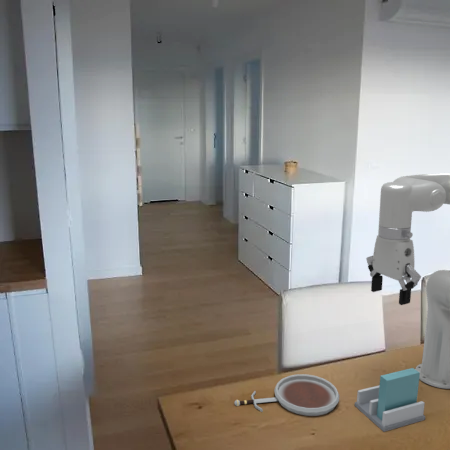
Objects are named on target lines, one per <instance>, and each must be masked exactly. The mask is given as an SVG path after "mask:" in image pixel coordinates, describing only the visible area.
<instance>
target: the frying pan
mask: <svg viewBox="0 0 450 450" xmlns="http://www.w3.org/2000/svg"><path fill="white" fill-rule="evenodd" d="M338 391H339V390H338V389H337V387H336V386H335V385H334V384H333V383H332V382H331V381H329V380H327V379H325V378H323V377H321V376H317V375H313V374H308V373H307V374H306V373H304V374H303V373H302V374H301V373H300V374H297V373H296V374H292V375H288V376H286V377H283V378H281V379H280V380H278V382H277V383H276V385H275V387H274V391H273V392H274V396H275V397H265V398H256V399H255V397H254V396H255V395H256V390H254V391H253V393H252V394H251V395H250V398H251V399H247V400H246V399H245V400H239V399H236V400H235V401H234V406H236V407H239V406H240V405H247V404H248V405H249V404H253V406H254V408H255V409H256V410H258V411H260V412H262V413H263V411H264V410H263V408H262V407H260V406H259V405H257V404H262V403H271V402H278V403H279V404H280V406H282V407H283V408H284V409H286V410H287V411H288V412H291V413H294V414H296V415H301V416H307V417H308V416H309V417H316V416H317V417H318V416H323V415H326V414H328V413H330V412H332V411H333V410H334V409H335V407H336V406H337V405H338V403H339V402H340V393H339V392H338Z"/></svg>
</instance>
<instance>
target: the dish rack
mask: <svg viewBox="0 0 450 450" xmlns="http://www.w3.org/2000/svg"><path fill="white" fill-rule="evenodd" d="M379 386H380V384H379V385H375V386H372V387H371V386H370V387H367V388H363V389H362V388H361V389H359V390H357V394H356V395H357V396H356V401H355V402H354V407H355V408H356V409H358V410H359V411H360V412H361V413H362V414H363V415H365V416H366V418H367V419H369V420H370V421H371V422H372V423H374V425H376V426H377V428H379V429H380V430H381V431H382V432H383V433H384V432H388V431H391V430H395V429H398V428H401V427H405V426H408V425H411V424H416V423H418V422H422V421H425V420H426V415H424V411H425V403H426V402H424V401H422V400H421V401H417V403H414V404H410V405H406V406H403V407H399V408H395V409H392V410H388V411H384V412H383V417H382V420H381V419H379V418H378V417H377V408H378V397H379Z"/></svg>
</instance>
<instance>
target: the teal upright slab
mask: <svg viewBox="0 0 450 450" xmlns="http://www.w3.org/2000/svg"><path fill="white" fill-rule="evenodd" d="M415 369H416V368H414V367H411V368H405V369H403V370H399V371H394V372H390V373H387V374H382V375H379V385H380V386H379V397H378V408H377V417H378V418H379V419H381V420H382V417H383V412H384V411H388V410H392V409H395V408H399V407H403V406H406V405H410V404H414V403H417V402H418V392H419V384H420V379H419V377H420V372H418V371H417V370H415Z"/></svg>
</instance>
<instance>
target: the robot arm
mask: <svg viewBox="0 0 450 450" xmlns="http://www.w3.org/2000/svg"><path fill="white" fill-rule="evenodd" d="M379 198H380V199H379V217H378V230H377V231H378V232H377V235H376V239H375V243H374V249H373V253H372V254H373V255H370V256H367V257H366V258H365V259H366V263H367V269H368V271H369V275H370V277H371V286H370V287H371V289H370V291H371V292H372V293H375V292H380V291H382V290H383V280H384V278H383V276H385V277H388V278H390V279H393V280H395V281H398V283H399V285H400V288H401V289H399V295H398V296H399V297H398V304H399V305H400V306H404V305H407V304H410V303H411V299H412V298H411V297H412V296H411V295H412V289H414V288H415V287H416V286H418V283H419V281H420V280H421V278H422V276H421V275H420V273H419V272H418V271H417V270H416V269H415V246H414V242H413V241H414V240H413V239H412V237H413V232H412V231H411V230H412V217H413V213H414V212H424V213H425V212H426V213H427V212H428V213H429V212H433V211H436V210H438V209H439V208H441V207H442V206H444V205H450V172H448V173H445V172H444V173H428V174H427V173H426V174H412V175H405V176H400V177H397V178H395V179H394V180H393V181H389V182H386V183H383V184H382V186H381V188H380V196H379ZM405 282H406V283H405ZM425 288H426V289H425V290H426V291H425V293H426V299H427V300H426V301H427V311H426V312H427V314H426V316H427V317H426V322H425V323H426V324H425V331H424V332H425V334H424V341H423V350H422V360H421V363H419V364H418V365H416V366H415V368H414V369H415V370H417V371H418V372H420V377H419V381H421V382H423V383H425V384H427V385H429V386H432V387H435V388H438V389H447V390H449V389H450V270H448V269H440V270H439V269H438V270H435V271H434V272H433V273H431V274H430V275H429V277H428V279H427V281H426V286H425Z"/></svg>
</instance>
